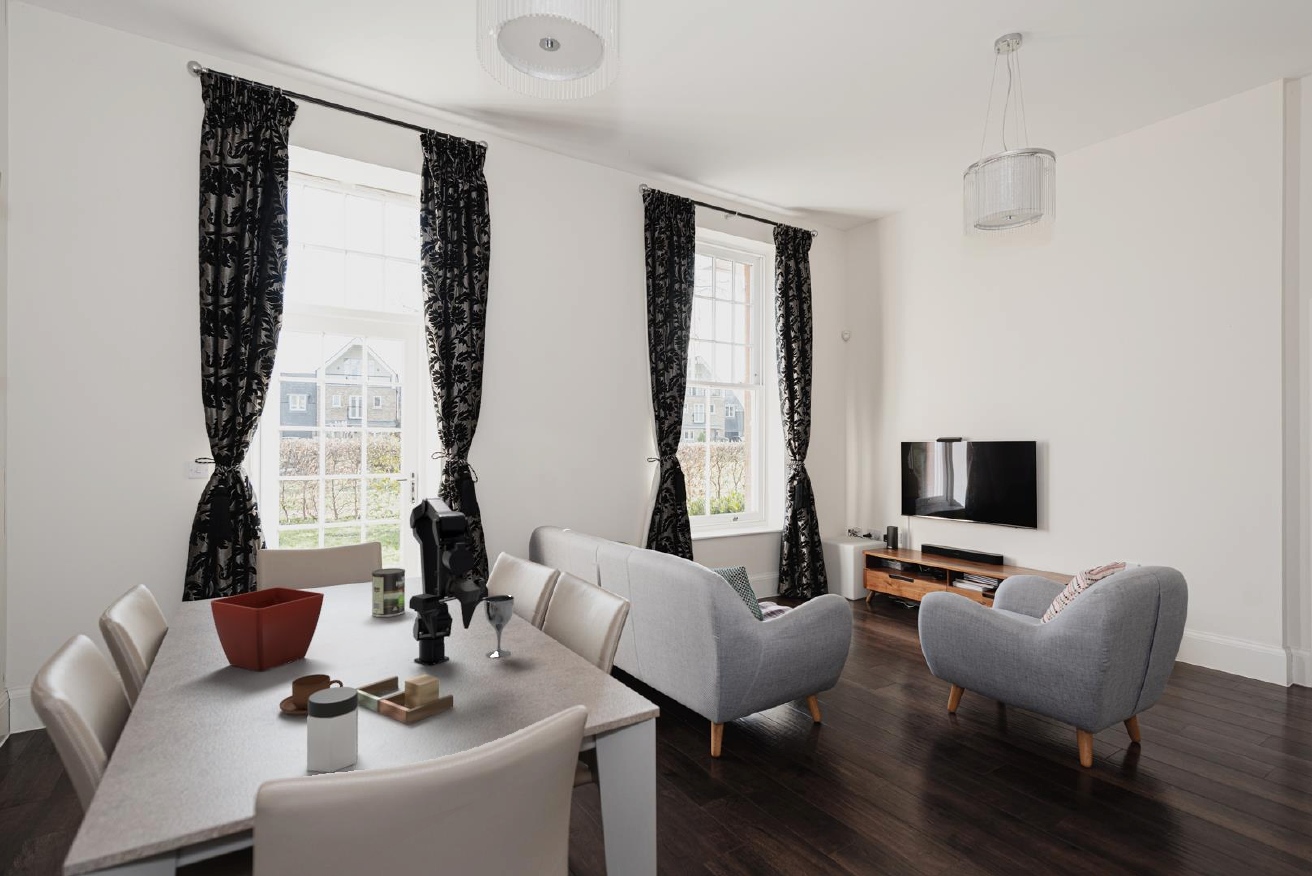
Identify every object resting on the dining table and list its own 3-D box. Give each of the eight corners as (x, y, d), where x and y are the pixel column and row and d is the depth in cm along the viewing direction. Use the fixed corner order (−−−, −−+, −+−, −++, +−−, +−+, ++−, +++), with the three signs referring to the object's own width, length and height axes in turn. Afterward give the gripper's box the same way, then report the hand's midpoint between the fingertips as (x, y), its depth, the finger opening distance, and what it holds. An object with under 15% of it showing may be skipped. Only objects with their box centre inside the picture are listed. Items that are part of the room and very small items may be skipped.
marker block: (404, 708, 147) (404, 680, 147) (424, 701, 151) (424, 674, 151) (419, 714, 144) (419, 685, 144) (439, 706, 148) (439, 678, 148)
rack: (351, 701, 150) (351, 690, 150) (395, 686, 159) (395, 675, 159) (408, 724, 138) (408, 712, 138) (453, 707, 147) (453, 695, 147)
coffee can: (409, 609, 232) (409, 568, 232) (397, 617, 222) (397, 573, 222) (379, 609, 232) (379, 567, 232) (366, 617, 222) (366, 573, 222)
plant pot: (326, 656, 182) (326, 592, 182) (258, 678, 165) (258, 608, 165) (277, 646, 190) (277, 586, 190) (208, 667, 173) (208, 601, 173)
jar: (347, 746, 128) (347, 682, 128) (368, 759, 123) (368, 693, 123) (297, 763, 122) (297, 696, 122) (317, 778, 116) (317, 707, 116)
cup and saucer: (326, 694, 155) (326, 667, 155) (352, 707, 148) (352, 678, 148) (269, 710, 146) (270, 681, 146) (294, 725, 138) (294, 694, 138)
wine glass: (519, 651, 186) (519, 596, 186) (503, 660, 179) (504, 602, 179) (494, 648, 189) (494, 594, 189) (477, 656, 181) (477, 600, 181)
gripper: (438, 577, 149) (438, 649, 149) (503, 564, 164) (503, 629, 164) (407, 571, 155) (407, 640, 155) (473, 559, 171) (473, 622, 171)
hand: (450, 633), depth 161 cm, fingers open, 9 cm apart
